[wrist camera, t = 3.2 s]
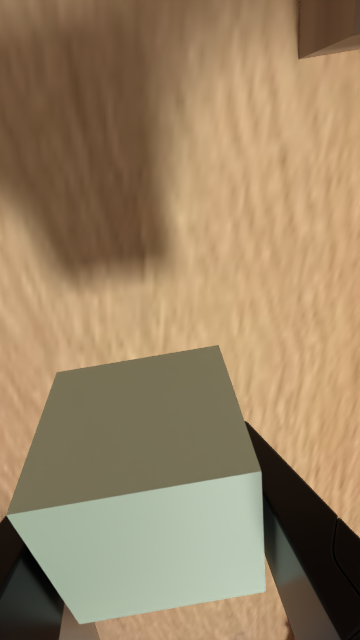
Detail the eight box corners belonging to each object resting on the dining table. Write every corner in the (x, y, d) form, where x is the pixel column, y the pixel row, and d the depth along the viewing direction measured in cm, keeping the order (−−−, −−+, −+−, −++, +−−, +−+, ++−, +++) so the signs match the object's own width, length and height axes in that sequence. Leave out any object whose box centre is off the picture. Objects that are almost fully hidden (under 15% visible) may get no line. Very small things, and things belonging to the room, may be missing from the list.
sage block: (218, 345, 10) (261, 471, 6) (229, 454, 12) (265, 591, 8) (57, 372, 9) (6, 514, 6) (98, 476, 12) (79, 624, 8)
